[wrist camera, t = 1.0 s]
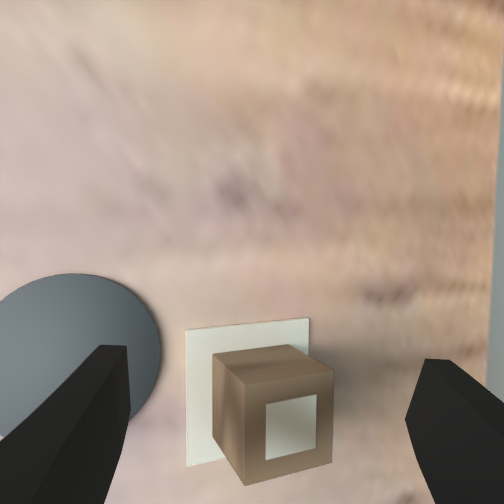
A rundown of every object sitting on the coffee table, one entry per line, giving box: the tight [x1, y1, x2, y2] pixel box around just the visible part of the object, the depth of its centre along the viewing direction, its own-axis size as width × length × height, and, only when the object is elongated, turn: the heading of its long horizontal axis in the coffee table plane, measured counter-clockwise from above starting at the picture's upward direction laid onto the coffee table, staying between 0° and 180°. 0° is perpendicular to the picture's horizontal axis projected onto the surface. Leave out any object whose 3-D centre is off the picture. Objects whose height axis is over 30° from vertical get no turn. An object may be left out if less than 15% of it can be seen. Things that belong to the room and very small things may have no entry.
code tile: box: [185, 318, 309, 466], centre depth 25 cm, size 8×8×1 cm
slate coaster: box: [0, 274, 161, 437], centre depth 21 cm, size 9×9×1 cm
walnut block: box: [212, 344, 334, 486], centre depth 23 cm, size 5×5×5 cm
